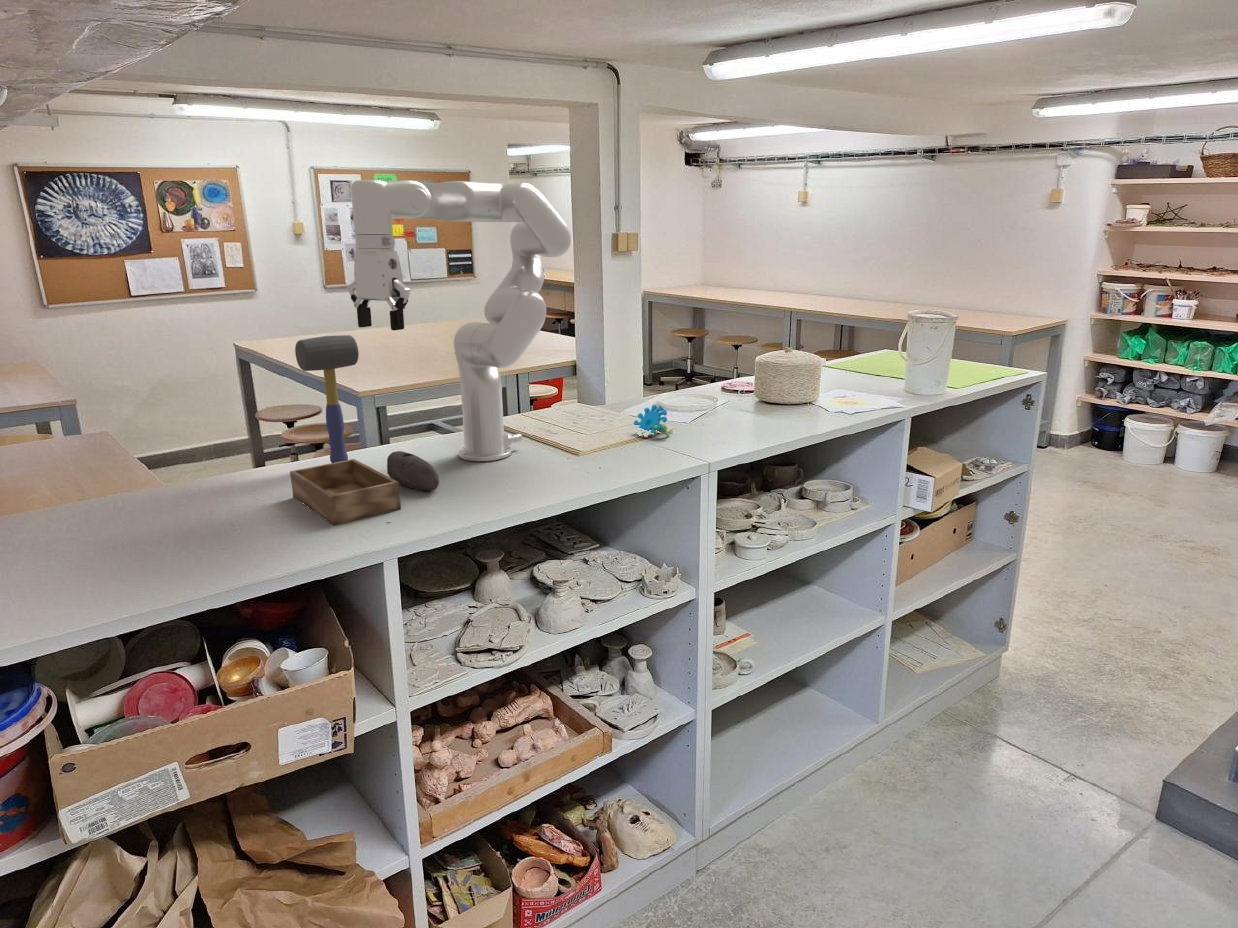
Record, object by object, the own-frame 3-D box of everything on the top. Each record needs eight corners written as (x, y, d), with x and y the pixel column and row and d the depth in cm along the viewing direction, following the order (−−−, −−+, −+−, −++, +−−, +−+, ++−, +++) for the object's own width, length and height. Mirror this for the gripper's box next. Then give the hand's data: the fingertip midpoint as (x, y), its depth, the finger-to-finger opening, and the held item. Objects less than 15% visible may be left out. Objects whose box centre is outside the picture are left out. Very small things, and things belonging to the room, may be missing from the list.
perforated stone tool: (448, 491, 175) (445, 460, 173) (427, 498, 171) (424, 465, 169) (406, 478, 184) (403, 447, 182) (386, 483, 180) (383, 452, 178)
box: (356, 483, 180) (354, 458, 179) (401, 509, 164) (398, 481, 163) (293, 497, 172) (289, 471, 170) (333, 525, 156) (330, 496, 154)
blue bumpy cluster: (625, 427, 219) (649, 398, 220) (637, 439, 223) (660, 411, 224) (649, 441, 210) (674, 411, 211) (661, 454, 214) (685, 424, 215)
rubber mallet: (319, 474, 187) (303, 340, 179) (307, 467, 193) (291, 337, 184) (372, 463, 195) (359, 335, 186) (358, 457, 200) (345, 331, 192)
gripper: (418, 244, 169) (424, 329, 173) (359, 243, 178) (366, 324, 182) (390, 244, 163) (397, 332, 167) (331, 243, 171) (338, 327, 176)
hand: (381, 328), depth 175 cm, fingers open, 9 cm apart
